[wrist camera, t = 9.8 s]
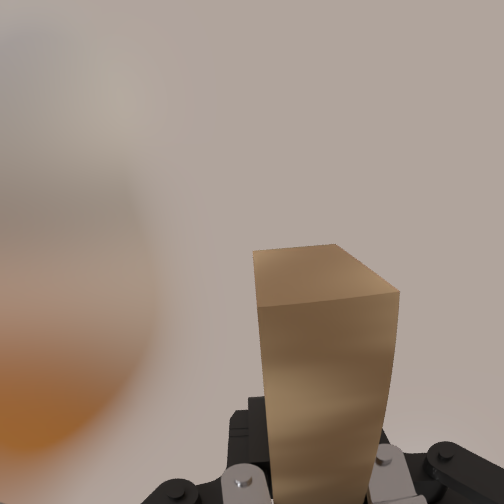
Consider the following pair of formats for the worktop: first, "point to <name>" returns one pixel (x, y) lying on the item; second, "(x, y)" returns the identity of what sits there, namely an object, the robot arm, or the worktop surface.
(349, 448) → the oak board
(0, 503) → the worktop surface
